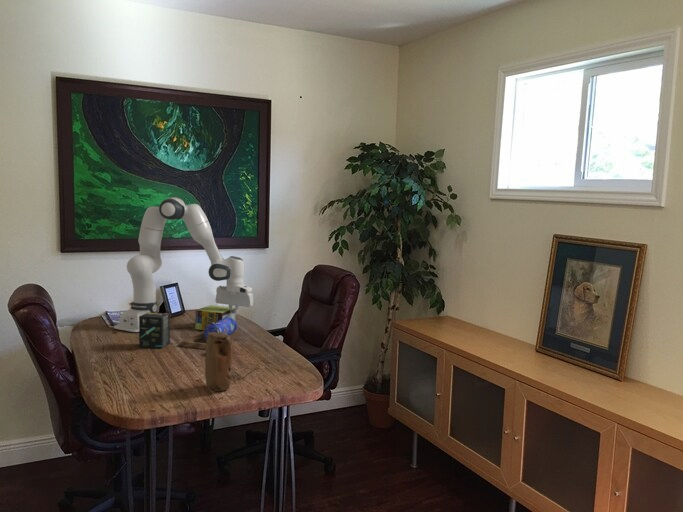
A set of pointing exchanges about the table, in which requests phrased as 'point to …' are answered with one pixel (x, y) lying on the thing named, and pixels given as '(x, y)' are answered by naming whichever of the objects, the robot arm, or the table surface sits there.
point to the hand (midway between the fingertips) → (233, 313)
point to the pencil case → (222, 327)
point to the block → (218, 361)
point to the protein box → (211, 315)
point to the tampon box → (154, 330)
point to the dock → (192, 344)
